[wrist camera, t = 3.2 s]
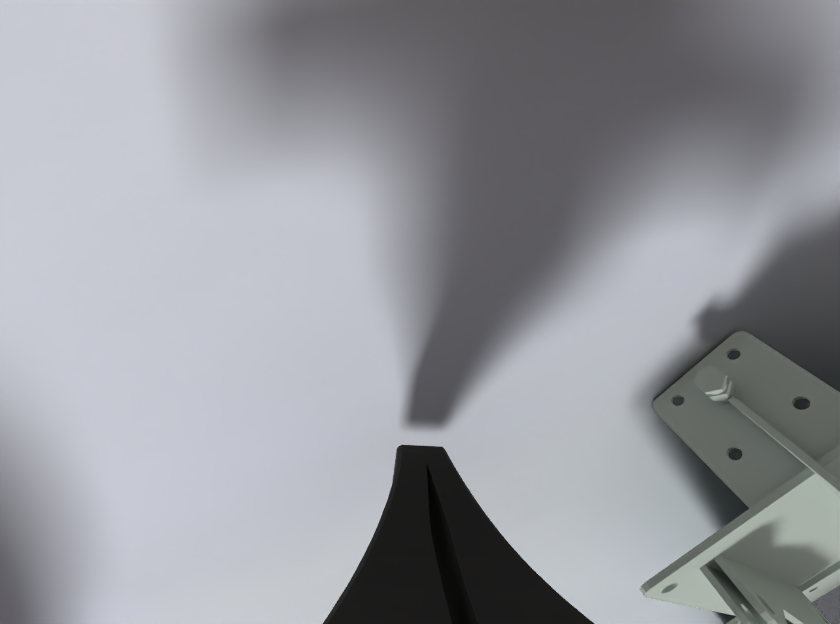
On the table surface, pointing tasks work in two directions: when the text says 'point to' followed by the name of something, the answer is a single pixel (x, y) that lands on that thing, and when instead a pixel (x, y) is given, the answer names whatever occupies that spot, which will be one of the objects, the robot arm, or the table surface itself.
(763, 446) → the metal bracket
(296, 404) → the table surface
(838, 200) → the table surface
